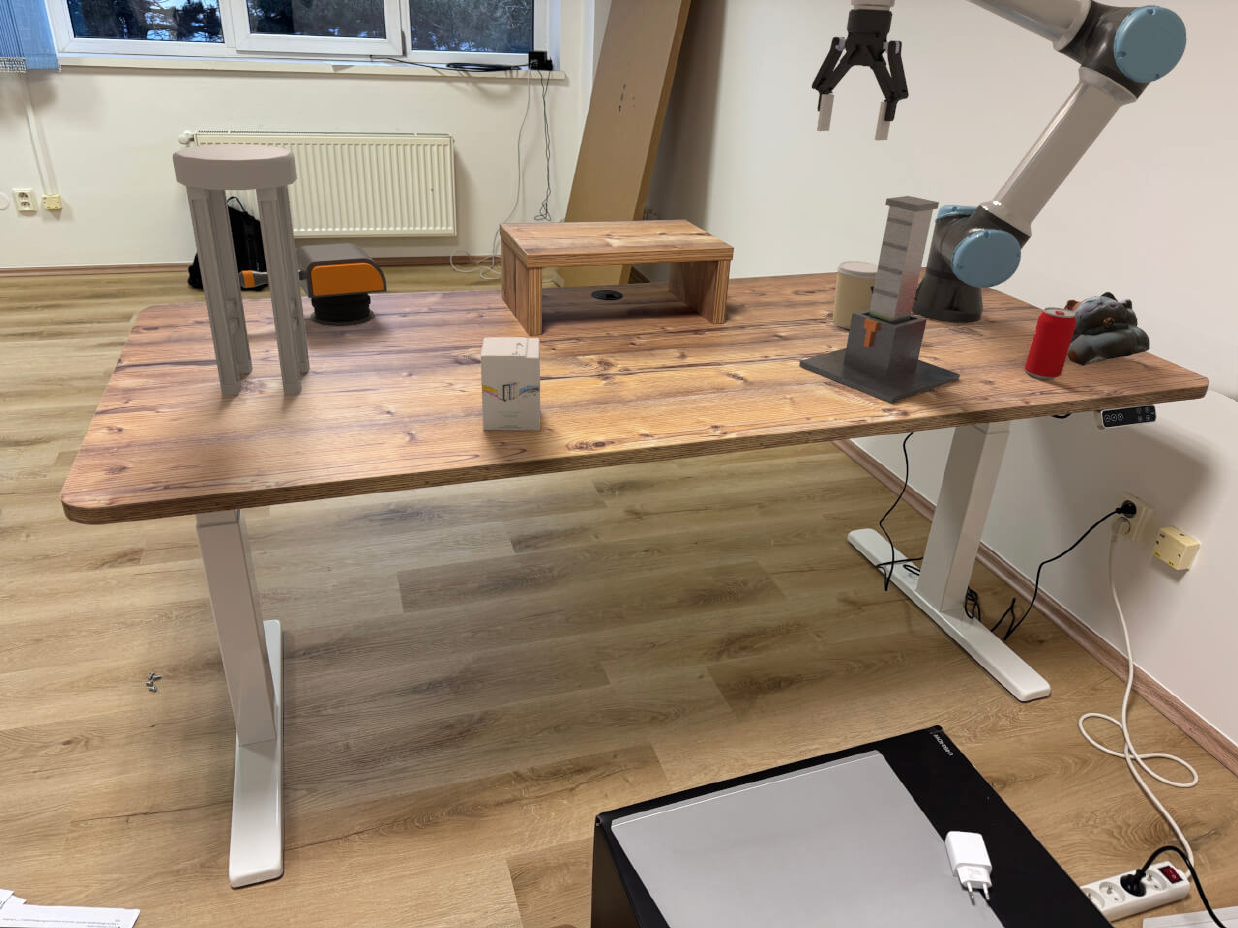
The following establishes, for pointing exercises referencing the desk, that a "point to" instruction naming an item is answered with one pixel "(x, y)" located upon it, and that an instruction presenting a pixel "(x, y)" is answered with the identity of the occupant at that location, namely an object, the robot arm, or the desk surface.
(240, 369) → the stool
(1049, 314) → the beverage can
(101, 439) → the desk surface
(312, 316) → the sander
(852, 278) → the coffee cup
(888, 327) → the stand base
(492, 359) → the ink box
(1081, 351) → the lucky cat figurine
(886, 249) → the column
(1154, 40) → the robot arm
